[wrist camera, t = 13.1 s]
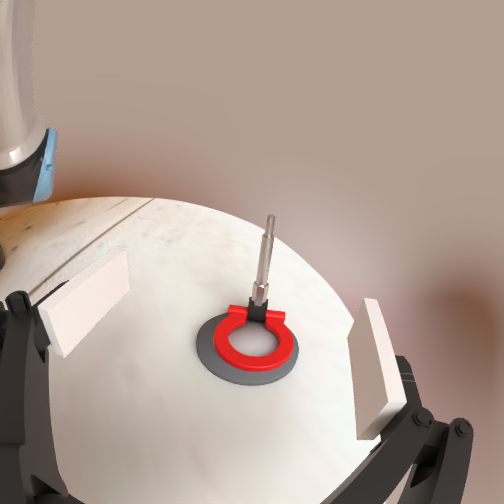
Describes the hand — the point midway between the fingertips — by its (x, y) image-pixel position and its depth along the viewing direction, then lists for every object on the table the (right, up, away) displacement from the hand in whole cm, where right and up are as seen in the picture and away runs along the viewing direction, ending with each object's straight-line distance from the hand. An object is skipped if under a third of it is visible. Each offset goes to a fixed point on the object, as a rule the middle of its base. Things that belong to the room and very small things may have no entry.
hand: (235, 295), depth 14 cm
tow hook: (+1, -8, +15) cm, 17 cm away
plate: (0, -8, +15) cm, 17 cm away
